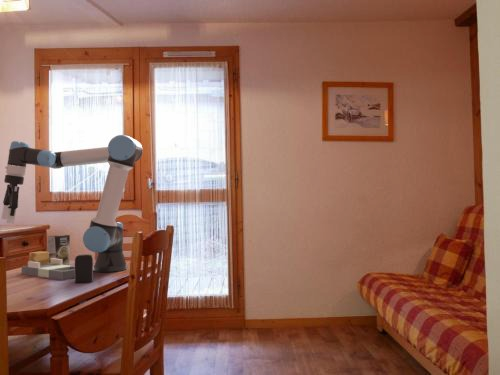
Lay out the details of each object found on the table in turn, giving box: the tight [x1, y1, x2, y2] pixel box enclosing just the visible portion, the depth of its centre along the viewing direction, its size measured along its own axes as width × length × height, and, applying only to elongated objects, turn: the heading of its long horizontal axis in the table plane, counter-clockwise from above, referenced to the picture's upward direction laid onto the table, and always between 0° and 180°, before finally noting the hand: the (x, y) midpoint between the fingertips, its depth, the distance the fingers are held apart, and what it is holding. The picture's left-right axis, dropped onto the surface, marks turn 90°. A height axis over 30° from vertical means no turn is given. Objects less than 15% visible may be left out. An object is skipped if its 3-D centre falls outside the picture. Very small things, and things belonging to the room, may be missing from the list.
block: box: [28, 250, 49, 266], centre depth 190 cm, size 6×6×6 cm
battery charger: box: [74, 253, 94, 284], centre depth 166 cm, size 7×4×11 cm, turn 109°
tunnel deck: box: [21, 258, 75, 281], centre depth 184 cm, size 31×12×6 cm, turn 59°
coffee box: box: [46, 234, 71, 265], centre depth 206 cm, size 9×6×16 cm
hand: (7, 221), depth 183 cm, fingers open, 13 cm apart
